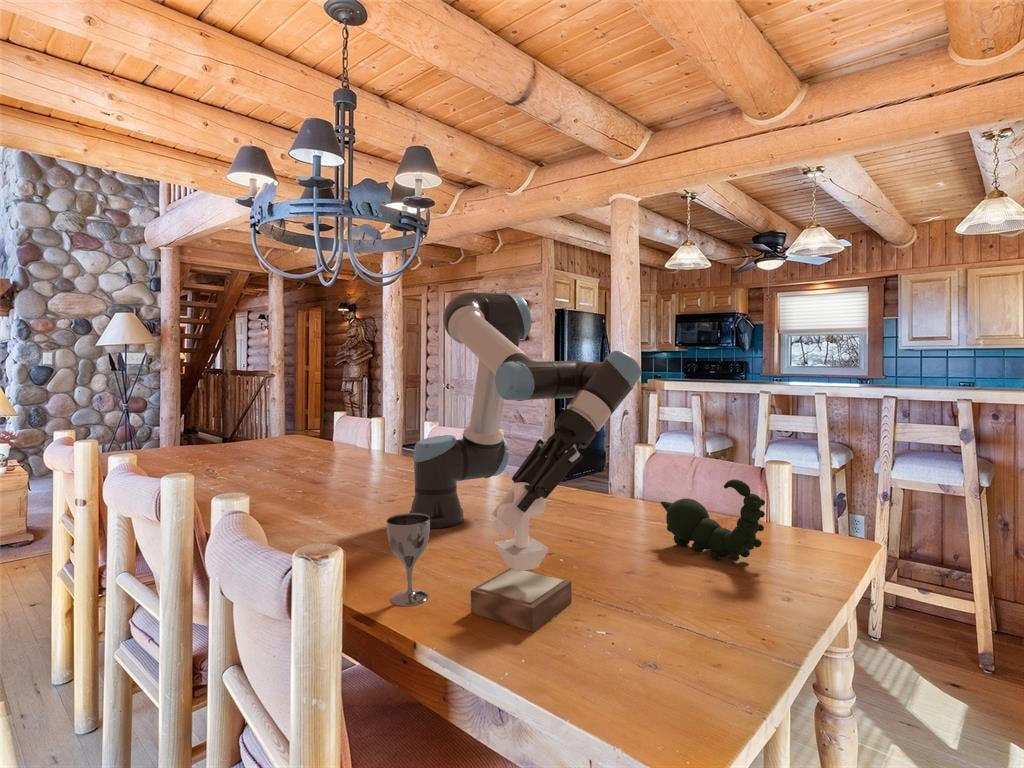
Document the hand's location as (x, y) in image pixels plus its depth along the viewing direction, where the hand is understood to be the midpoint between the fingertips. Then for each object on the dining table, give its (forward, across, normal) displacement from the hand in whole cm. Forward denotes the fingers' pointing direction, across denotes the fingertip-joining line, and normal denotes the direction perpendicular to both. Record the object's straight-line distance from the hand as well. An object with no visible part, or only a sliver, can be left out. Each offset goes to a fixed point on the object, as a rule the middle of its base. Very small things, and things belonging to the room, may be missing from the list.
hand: (502, 520), depth 95 cm
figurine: (+4, +1, -9) cm, 10 cm away
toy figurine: (-26, +6, -50) cm, 56 cm away
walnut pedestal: (+9, 0, -14) cm, 17 cm away
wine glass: (+21, +14, -2) cm, 25 cm away
